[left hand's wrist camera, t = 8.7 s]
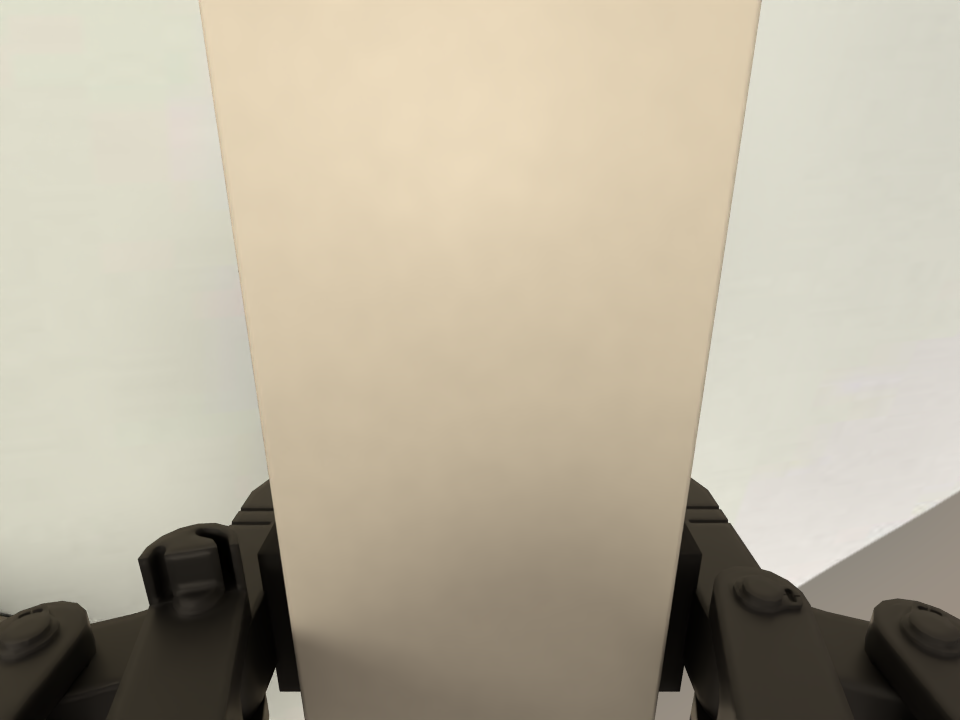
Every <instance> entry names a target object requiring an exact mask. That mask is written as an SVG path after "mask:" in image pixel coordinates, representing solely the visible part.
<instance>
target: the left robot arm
mask: <svg viewBox="0 0 960 720" xmlns="http://www.w3.org/2000/svg"><path fill="white" fill-rule="evenodd" d="M138 562H139V565H140V569H141V573H142V577H143V581H144V585H145V589H146V593H147V597H148V601H149V605H150V606H149V609H148V610H145V611H141V612H138V613H135V614H131V615H127V616H123V617H118V618H114V619H110V620H105V621H101V622H97V623H92V624H90V622H89V619H88V615H87V612H86V610H85V609H84V608H82V607H81V606H80V605H79V604H78V603H72V602H66V601H58V602H51V603H44V604H40V605H37V606H35V607H32V608H28V609H26V610H23V611H20V612H18V613H16V614H15V615H13V616H11V617H9V618H8V617H4V616H0V720H269V711H268V704H267V698H266V690H267V688H268V685H269V683H270V680H271V678H272V675H273V673H274V670H275V668H276V671H277V677H278V683H279V690H280V692H301V690H300V683H299V676H298V670H297V663H296V656H295V649H294V643H293V636H292V629H291V622H290V616H289V609H288V602H287V595H286V588H285V582H284V575H283V568H282V561H281V555H280V548H279V541H278V534H277V528H276V521H275V514H274V507H273V500H272V494H271V487H270V480H267V481H266V482H265V483H263V484H262V485H261V486H259V487H258V488H256V489H255V490H254V491H252V492H251V494H250V495H249V497H248V498H247V500H246V501H245V503H244V504H243V506H242V507H241V511H239V512H238V513H237V515H236V516H235V518H234V519H233V521H232V525H229V526H225V525H221V524H217V523H204V524H195V525H191V526H187V527H183V528H179V529H177V530H175V531H173V532H170V533H168V534H166V535H164V536H162V537H160V538H159V539H157V540H156V541H155V542H153V543H152V544H151V545H149V546H148V547H147V548H146V549H145V550H144V552H143V553H142V554H141V556H140V557H139V558H138ZM684 666H685V668H686V671H687V673H688V676H689V678H690V681H691V683H692V686H693V688H694V691H695V692H694V698H693V703H692V709H691V715H690V720H960V619H958V618H956V617H954V616H952V615H950V614H949V613H947V612H945V611H943V610H941V609H939V608H936V607H933V606H930V605H927V604H924V603H921V602H918V601H912V600H905V599H891V600H885V601H882V602H881V603H880V604H878V605H877V606H876V607H875V608H874V610H873V614H872V617H871V620H870V622H869V621H865V620H860V619H856V618H852V617H848V616H843V615H839V614H834V613H830V612H826V611H823V610H820V609H816V608H813V607H811V605H810V604H809V602H808V601H807V599H806V597H805V596H804V594H803V593H802V592H801V591H800V590H799V589H798V588H796V587H795V586H794V585H793V584H792V583H790V582H789V581H788V580H786V579H784V578H782V577H780V576H778V575H776V574H774V573H772V572H770V571H766V570H763V569H761V568H760V566H759V565H758V564H757V562H756V561H755V559H754V558H753V556H752V555H751V553H750V552H749V550H748V549H747V547H746V546H745V544H744V543H743V541H742V540H741V538H740V537H739V535H738V534H737V532H736V531H735V529H734V528H733V526H732V525H731V523H728V519H727V518H726V516H725V515H724V513H723V512H722V510H721V509H719V506H718V504H717V503H716V501H715V500H714V498H713V497H712V495H711V494H710V492H709V491H708V490H707V489H706V488H705V487H703V486H702V485H700V484H699V483H698V482H696V481H695V480H693V479H692V478H690V485H689V491H688V498H687V505H686V511H685V518H684V525H683V532H682V538H681V545H680V552H679V558H678V565H677V572H676V579H675V585H674V592H673V599H672V605H671V612H670V619H669V626H668V632H667V639H666V646H665V652H664V659H663V666H662V673H661V679H660V686H659V692H679V691H680V687H681V681H682V675H683V669H684Z"/></svg>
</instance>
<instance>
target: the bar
mask: <svg viewBox="0 0 960 720" xmlns="http://www.w3.org/2000/svg"><path fill="white" fill-rule="evenodd" d="M761 2H762V0H199V6H200V13H201V20H202V27H203V33H204V40H205V47H206V54H207V61H208V67H209V74H210V81H211V88H212V94H213V101H214V108H215V115H216V121H217V128H218V135H219V142H220V148H221V155H222V162H223V169H224V176H225V182H226V189H227V196H228V203H229V209H230V216H231V223H232V230H233V236H234V243H235V250H236V257H237V264H238V270H239V277H240V284H241V291H242V297H243V304H244V311H245V318H246V324H247V331H248V338H249V345H250V352H251V358H252V365H253V372H254V379H255V385H256V392H257V399H258V406H259V412H260V419H261V426H262V433H263V440H264V446H265V453H266V460H267V467H268V473H269V480H270V487H271V494H272V500H273V507H274V514H275V521H276V528H277V534H278V541H279V548H280V555H281V561H282V568H283V575H284V582H285V588H286V595H287V602H288V609H289V616H290V622H291V629H292V636H293V643H294V649H295V656H296V663H297V670H298V676H299V683H300V690H301V697H302V703H303V710H304V717H305V720H654V719H655V713H656V706H657V699H658V693H659V686H660V679H661V673H662V666H663V659H664V652H665V646H666V639H667V632H668V626H669V619H670V612H671V605H672V599H673V592H674V585H675V579H676V572H677V565H678V558H679V552H680V545H681V538H682V532H683V525H684V518H685V511H686V505H687V498H688V491H689V485H690V478H691V471H692V465H693V458H694V451H695V444H696V438H697V431H698V424H699V418H700V411H701V404H702V397H703V391H704V384H705V377H706V371H707V364H708V357H709V350H710V344H711V337H712V330H713V324H714V317H715V310H716V303H717V297H718V290H719V283H720V277H721V270H722V263H723V257H724V250H725V243H726V236H727V230H728V223H729V216H730V210H731V203H732V196H733V189H734V183H735V176H736V169H737V163H738V156H739V149H740V142H741V136H742V129H743V122H744V116H745V109H746V102H747V96H748V89H749V82H750V75H751V69H752V62H753V55H754V49H755V42H756V35H757V28H758V22H759V15H760V8H761Z"/></svg>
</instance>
